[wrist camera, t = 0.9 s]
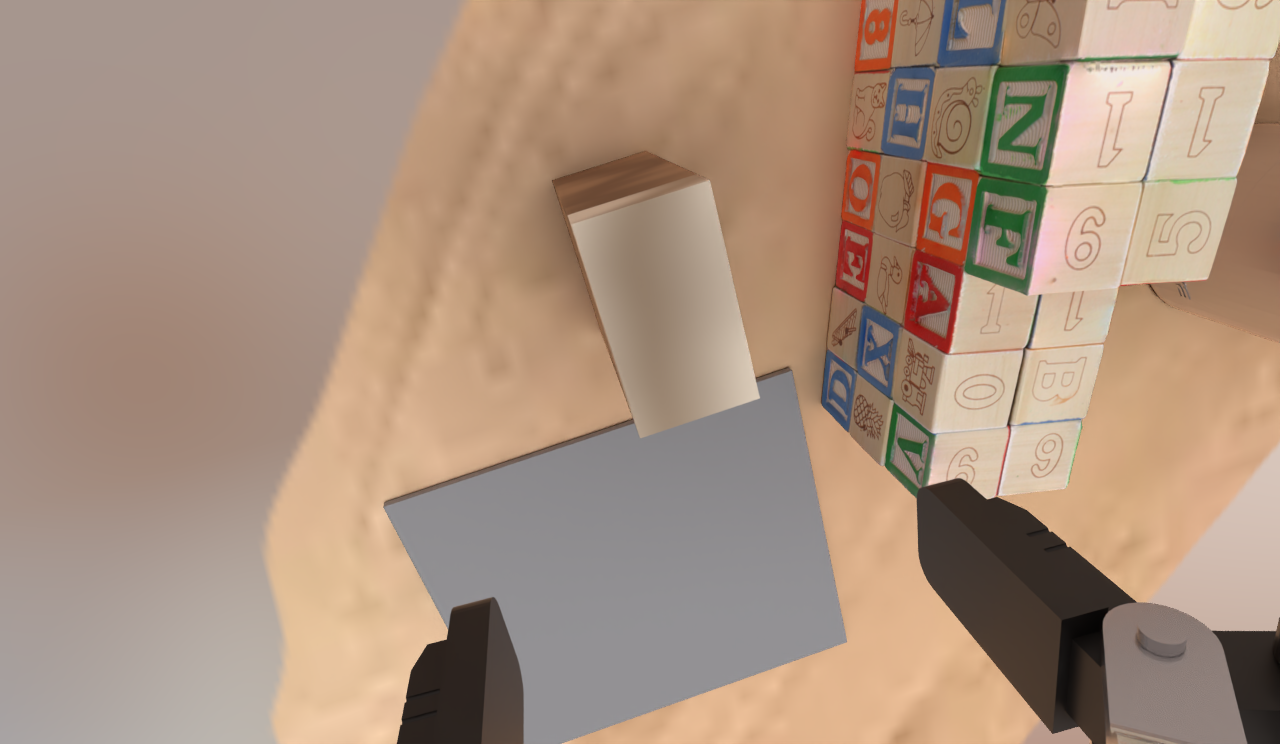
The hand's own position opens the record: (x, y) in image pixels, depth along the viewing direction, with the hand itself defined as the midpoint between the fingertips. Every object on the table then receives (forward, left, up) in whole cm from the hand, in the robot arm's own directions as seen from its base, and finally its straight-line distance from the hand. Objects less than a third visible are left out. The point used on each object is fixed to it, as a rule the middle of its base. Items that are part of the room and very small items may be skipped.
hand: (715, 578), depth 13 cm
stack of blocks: (-15, -1, -19) cm, 24 cm away
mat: (+2, +15, -19) cm, 24 cm away
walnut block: (-2, -2, -19) cm, 19 cm away
